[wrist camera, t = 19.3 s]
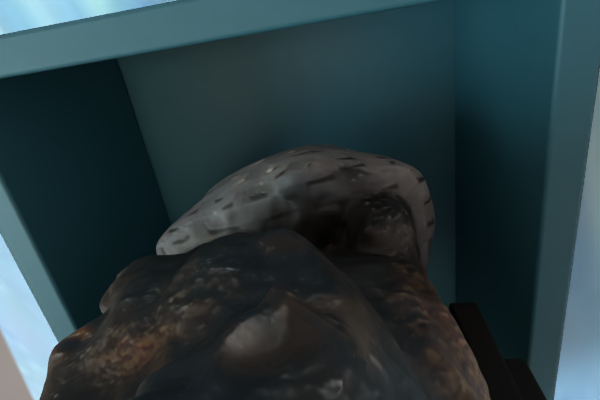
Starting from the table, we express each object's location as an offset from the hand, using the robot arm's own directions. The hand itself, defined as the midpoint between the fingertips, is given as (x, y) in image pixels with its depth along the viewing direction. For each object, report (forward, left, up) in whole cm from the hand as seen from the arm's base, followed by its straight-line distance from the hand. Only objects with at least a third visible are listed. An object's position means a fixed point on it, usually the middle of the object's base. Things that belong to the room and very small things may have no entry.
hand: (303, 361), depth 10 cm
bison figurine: (0, 0, -3) cm, 3 cm away
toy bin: (0, 0, -6) cm, 6 cm away
